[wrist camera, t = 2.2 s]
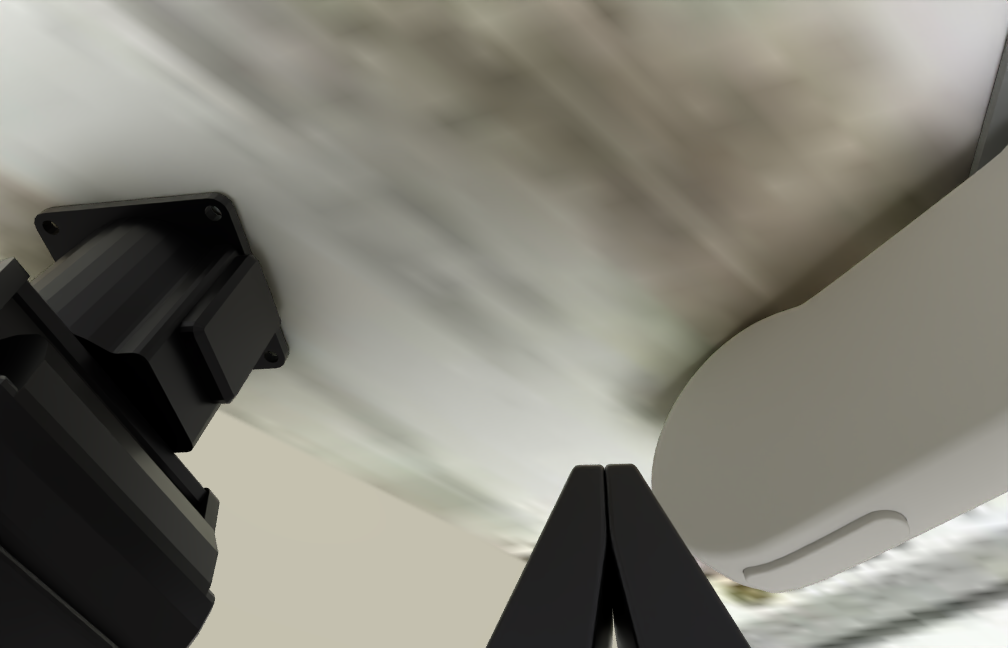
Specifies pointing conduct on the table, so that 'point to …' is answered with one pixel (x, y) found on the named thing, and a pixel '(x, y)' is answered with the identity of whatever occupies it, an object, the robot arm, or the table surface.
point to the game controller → (852, 407)
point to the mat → (994, 120)
